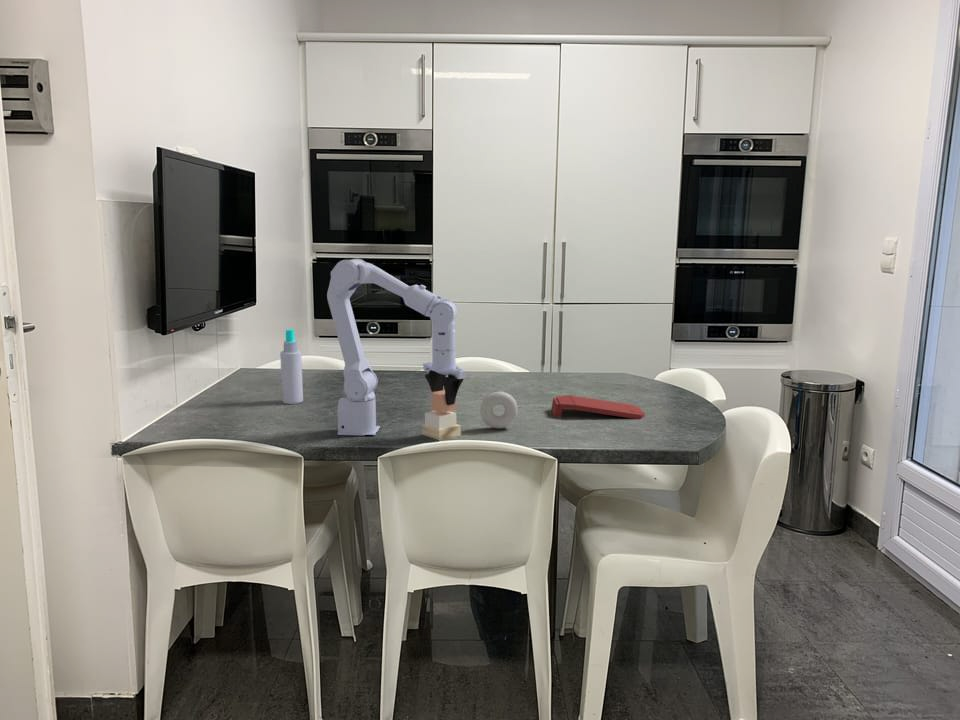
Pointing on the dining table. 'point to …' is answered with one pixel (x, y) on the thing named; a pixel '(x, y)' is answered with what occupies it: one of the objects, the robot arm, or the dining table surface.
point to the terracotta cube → (441, 402)
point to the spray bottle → (291, 371)
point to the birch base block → (441, 432)
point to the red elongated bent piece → (595, 407)
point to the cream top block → (440, 419)
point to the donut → (489, 404)
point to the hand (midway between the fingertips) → (444, 402)
